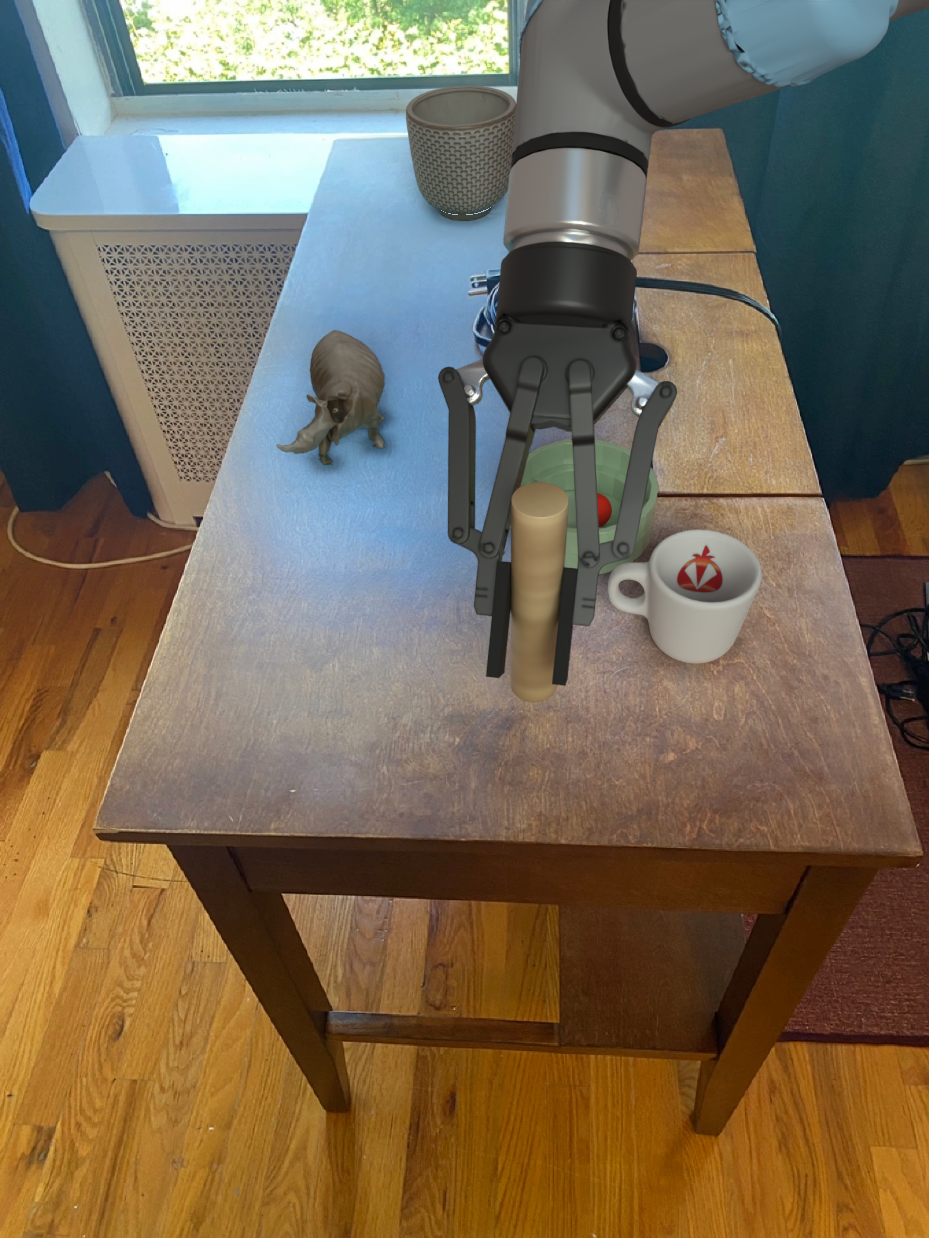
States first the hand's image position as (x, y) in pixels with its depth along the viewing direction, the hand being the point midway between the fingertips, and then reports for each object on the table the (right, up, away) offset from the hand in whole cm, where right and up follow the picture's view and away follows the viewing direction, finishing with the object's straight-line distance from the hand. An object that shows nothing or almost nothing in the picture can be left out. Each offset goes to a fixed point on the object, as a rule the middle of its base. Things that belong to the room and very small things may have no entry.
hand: (527, 677), depth 52 cm
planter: (-3, +58, +71) cm, 92 cm away
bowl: (+7, +11, +28) cm, 31 cm away
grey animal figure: (-15, +21, +38) cm, 46 cm away
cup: (+13, +2, +20) cm, 24 cm away
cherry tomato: (+8, +13, +27) cm, 30 cm away
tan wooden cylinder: (+1, -1, +6) cm, 6 cm away
